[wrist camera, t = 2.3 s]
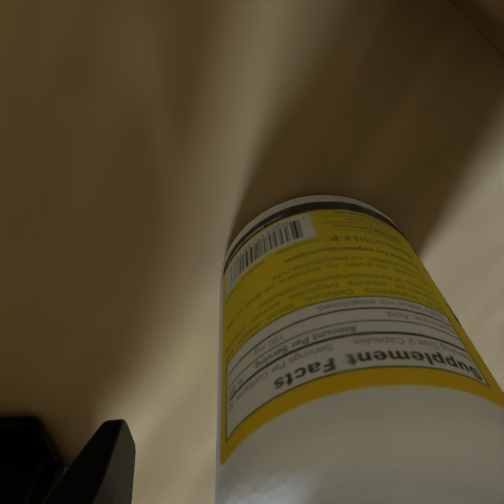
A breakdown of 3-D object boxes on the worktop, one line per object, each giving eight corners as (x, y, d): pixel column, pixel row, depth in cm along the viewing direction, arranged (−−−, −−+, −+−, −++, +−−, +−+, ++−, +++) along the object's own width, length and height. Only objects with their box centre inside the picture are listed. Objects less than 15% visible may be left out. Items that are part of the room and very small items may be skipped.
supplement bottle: (375, 349, 15) (544, 824, 7) (210, 332, 14) (178, 833, 6) (439, 201, 12) (863, 720, 4) (236, 172, 12) (238, 718, 3)
